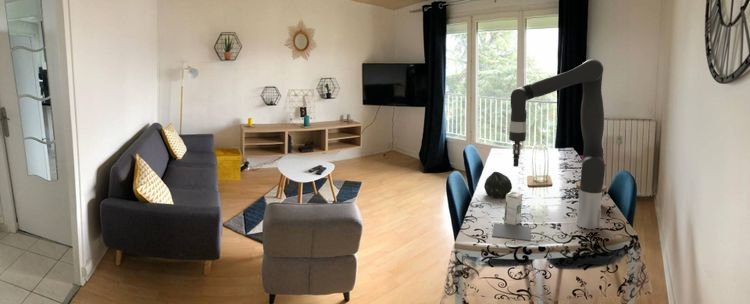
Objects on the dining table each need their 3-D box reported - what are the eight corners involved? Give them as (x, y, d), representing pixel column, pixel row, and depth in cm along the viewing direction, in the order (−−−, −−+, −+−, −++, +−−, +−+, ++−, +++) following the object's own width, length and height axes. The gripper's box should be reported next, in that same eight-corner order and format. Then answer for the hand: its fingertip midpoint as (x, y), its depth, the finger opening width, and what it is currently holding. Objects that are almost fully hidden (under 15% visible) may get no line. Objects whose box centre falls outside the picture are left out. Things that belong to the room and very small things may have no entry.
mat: (530, 227, 214) (530, 226, 214) (530, 240, 201) (530, 239, 200) (494, 224, 219) (494, 223, 219) (492, 236, 205) (492, 235, 205)
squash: (515, 183, 262) (498, 163, 261) (518, 192, 248) (499, 171, 247) (495, 198, 267) (477, 178, 266) (496, 208, 253) (478, 187, 252)
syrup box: (508, 219, 225) (510, 190, 221) (520, 222, 221) (522, 193, 218) (503, 223, 220) (505, 193, 217) (516, 226, 217) (517, 196, 213)
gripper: (526, 133, 213) (523, 170, 217) (526, 128, 225) (524, 163, 229) (508, 132, 215) (507, 169, 219) (510, 127, 227) (508, 162, 231)
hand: (515, 166), depth 224 cm, fingers closed
